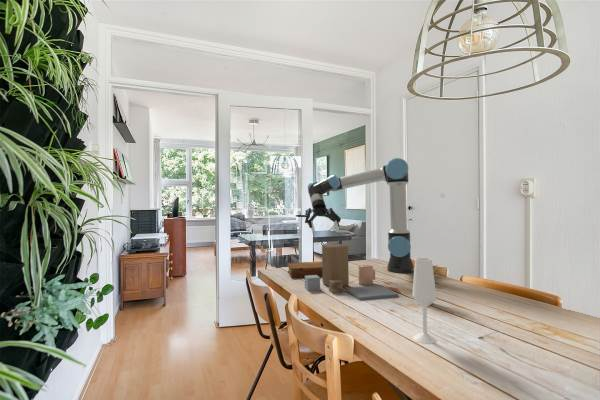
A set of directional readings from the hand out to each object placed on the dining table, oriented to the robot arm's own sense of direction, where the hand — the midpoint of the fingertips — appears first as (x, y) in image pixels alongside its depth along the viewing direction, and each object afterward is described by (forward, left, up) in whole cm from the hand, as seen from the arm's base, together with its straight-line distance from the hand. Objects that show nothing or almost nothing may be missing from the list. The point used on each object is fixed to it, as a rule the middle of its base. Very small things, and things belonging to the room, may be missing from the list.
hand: (326, 231), depth 184 cm
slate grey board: (-10, +33, -26) cm, 43 cm away
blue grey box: (+13, +17, -26) cm, 33 cm away
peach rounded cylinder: (-15, +16, -26) cm, 34 cm away
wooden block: (0, +13, -26) cm, 29 cm away
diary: (+6, -17, -26) cm, 32 cm away
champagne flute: (-4, +84, -26) cm, 88 cm away
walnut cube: (+4, +25, -26) cm, 36 cm away
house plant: (-26, +53, -26) cm, 65 cm away
